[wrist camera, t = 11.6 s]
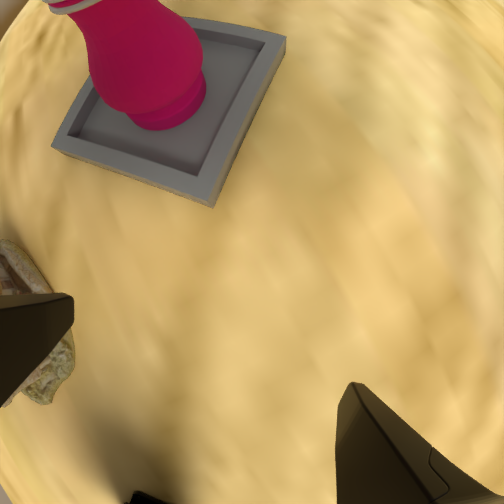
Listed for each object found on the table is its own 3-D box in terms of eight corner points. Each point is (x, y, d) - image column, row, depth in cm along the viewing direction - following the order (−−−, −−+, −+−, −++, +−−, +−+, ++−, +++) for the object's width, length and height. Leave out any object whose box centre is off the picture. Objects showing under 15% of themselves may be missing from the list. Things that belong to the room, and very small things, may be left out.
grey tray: (285, 53, 21) (286, 36, 19) (213, 208, 21) (207, 201, 18) (142, 27, 22) (134, 13, 20) (65, 154, 21) (50, 146, 19)
